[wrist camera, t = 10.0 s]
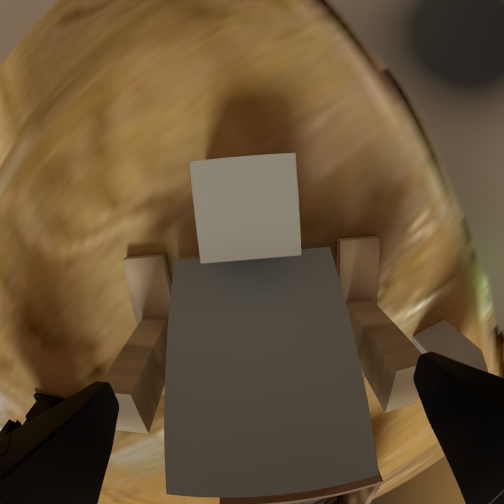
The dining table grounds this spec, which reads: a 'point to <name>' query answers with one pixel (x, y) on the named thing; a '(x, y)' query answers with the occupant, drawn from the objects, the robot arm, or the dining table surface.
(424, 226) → the dining table surface
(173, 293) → the dark grey slab
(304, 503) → the chocolate cake
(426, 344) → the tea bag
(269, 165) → the pale grey cube
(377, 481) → the open wooden box
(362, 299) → the stand
